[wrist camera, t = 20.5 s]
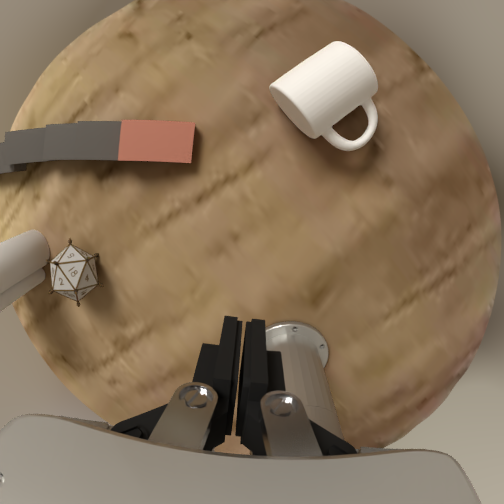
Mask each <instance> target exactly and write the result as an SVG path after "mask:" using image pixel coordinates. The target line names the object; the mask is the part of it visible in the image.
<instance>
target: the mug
mask: <svg viewBox="0 0 504 504" xmlns="http://www.w3.org/2000/svg"><path fill="white" fill-rule="evenodd" d="M269 88H270V92H271V94H272V96H273V98H274V99H275V101H276V102H277V104H278V105H279V107H280V108H281V109H282V110H283V112H284V113H285V114H286V115H287V116H288V118H289V119H290V120H291V121H292V122H293V123H294V124H295V125H296V126H297V127H298V128H299V129H300V130H301V131H302V132H303V133H305V134H306V135H307V136H309V137H310V138H313V139H315V138H317V137H319V136H320V135H322V136H323V137H324V138H325V139H326V140H327V141H328V142H329V143H330V144H332V145H333V146H335V147H336V148H338V149H341V150H344V151H353V150H356V149H359V148H361V147H362V146H364V145H365V144H366V143H367V142H368V141H369V140H370V139H371V138H372V136H373V134H374V132H375V130H376V127H377V122H378V115H377V110H376V107H375V105H374V103H373V101H372V99H371V97H372V96H373V95H374V94H375V93H376V92H377V90H378V82H377V78H376V75H375V73H374V71H373V69H372V68H371V66H370V64H369V63H368V62H367V60H366V59H365V58H364V57H363V56H362V55H361V54H360V53H359V52H358V51H357V50H356V49H354V48H353V47H351V46H350V45H348V44H346V43H343V42H339V41H335V42H332V43H331V44H329V45H327V46H326V47H324V48H323V49H321V50H320V51H318V52H317V53H315V54H314V55H312V56H311V57H309V58H308V59H306V60H305V61H303V62H302V63H300V64H299V65H297V66H296V67H294V68H293V69H291V70H290V71H289V72H287V73H286V74H284V75H283V76H282V77H280V78H279V79H278V80H276V81H275V82H273V83H272V84H271V85H270V87H269ZM359 105H362V107H363V108H364V110H365V112H366V114H367V117H368V127H367V130H366V131H365V133H364V134H363V135H362V136H361V137H360V138H358V139H357V140H354V141H350V140H347V139H345V138H343V137H342V136H340V135H339V134H338V133H337V132H336V131H335V130H334V129H333V128H332V126H333V125H334V124H335V123H337V122H338V121H339V120H341V119H342V118H343V117H345V116H346V115H347V114H349V113H350V112H351V111H353V110H354V109H355V108H357V107H358V106H359Z"/></svg>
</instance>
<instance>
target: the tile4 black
mask: <svg viewBox="0 0 504 504" xmlns="http://www.w3.org/2000/svg"><path fill="white" fill-rule="evenodd" d="M45 130H46V128H35V129H26V130H18V131H11V132H6V133H5V144H4V165H9V164H19V163H29V162H41V161H54V160H43V150H44V140H45Z"/></svg>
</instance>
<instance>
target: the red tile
mask: <svg viewBox="0 0 504 504" xmlns="http://www.w3.org/2000/svg"><path fill="white" fill-rule="evenodd" d="M194 129H195V123H192V122H177V121H157V120H122V123H121V132H120V142H119V153H118V161H160V162H181V163H191V157H192V148H193V138H194Z"/></svg>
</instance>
